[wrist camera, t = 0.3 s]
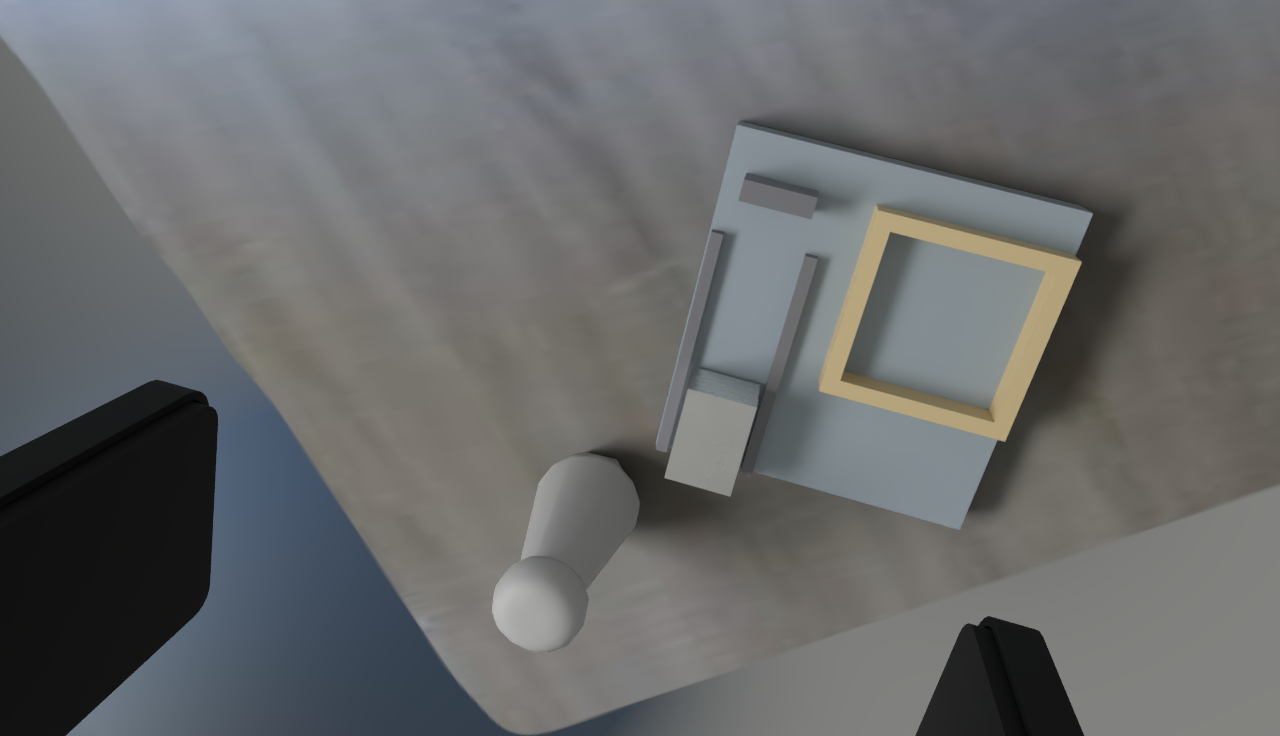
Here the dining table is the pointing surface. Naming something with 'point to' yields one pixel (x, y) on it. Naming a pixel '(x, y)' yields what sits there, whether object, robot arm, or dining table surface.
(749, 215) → the base
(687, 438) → the cover
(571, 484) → the salt shaker
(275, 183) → the dining table surface
